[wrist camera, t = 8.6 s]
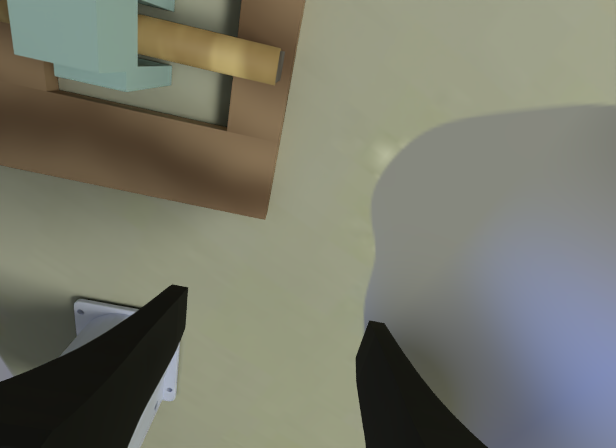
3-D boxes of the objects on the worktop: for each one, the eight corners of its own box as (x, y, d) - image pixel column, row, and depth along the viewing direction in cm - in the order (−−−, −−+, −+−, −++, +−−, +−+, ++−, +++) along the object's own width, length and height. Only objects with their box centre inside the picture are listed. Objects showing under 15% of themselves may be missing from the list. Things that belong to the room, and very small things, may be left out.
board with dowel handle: (267, 213, 23) (256, 244, 19) (-16, 154, 22) (-88, 175, 18) (332, -151, 15) (337, -223, 11) (-99, -274, 14) (-258, -401, 10)
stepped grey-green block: (171, 85, 19) (99, 96, 13) (116, 72, 19) (17, 77, 13) (175, -12, 17) (93, -54, 11) (114, -26, 17) (-4, -77, 11)
